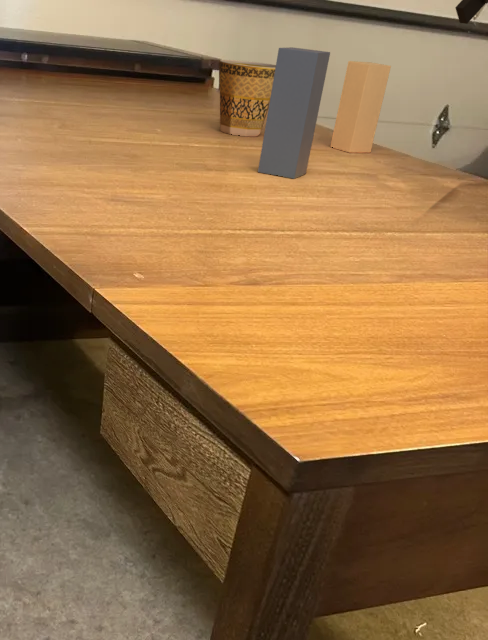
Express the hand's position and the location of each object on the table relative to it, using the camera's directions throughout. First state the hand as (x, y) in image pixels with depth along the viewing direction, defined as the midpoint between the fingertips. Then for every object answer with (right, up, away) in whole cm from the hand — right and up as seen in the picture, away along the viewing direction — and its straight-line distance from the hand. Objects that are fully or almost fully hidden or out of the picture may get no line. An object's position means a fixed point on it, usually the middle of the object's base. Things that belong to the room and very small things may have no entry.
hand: (461, 15), depth 127 cm
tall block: (-16, -19, +3) cm, 26 cm away
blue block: (-32, -33, -19) cm, 50 cm away
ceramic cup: (-33, -14, +9) cm, 37 cm away
